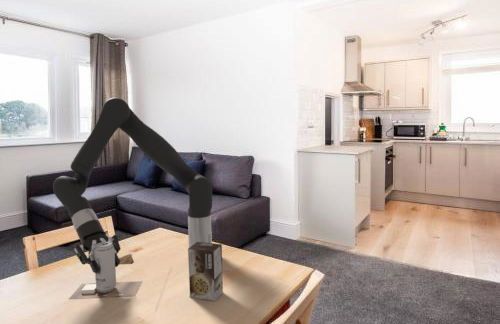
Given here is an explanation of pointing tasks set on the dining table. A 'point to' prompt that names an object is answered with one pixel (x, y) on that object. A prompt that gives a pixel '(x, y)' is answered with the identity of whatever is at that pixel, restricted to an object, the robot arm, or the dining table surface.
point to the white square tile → (89, 289)
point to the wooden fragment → (126, 259)
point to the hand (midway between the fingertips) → (108, 268)
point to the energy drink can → (105, 267)
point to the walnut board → (119, 291)
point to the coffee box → (205, 270)
